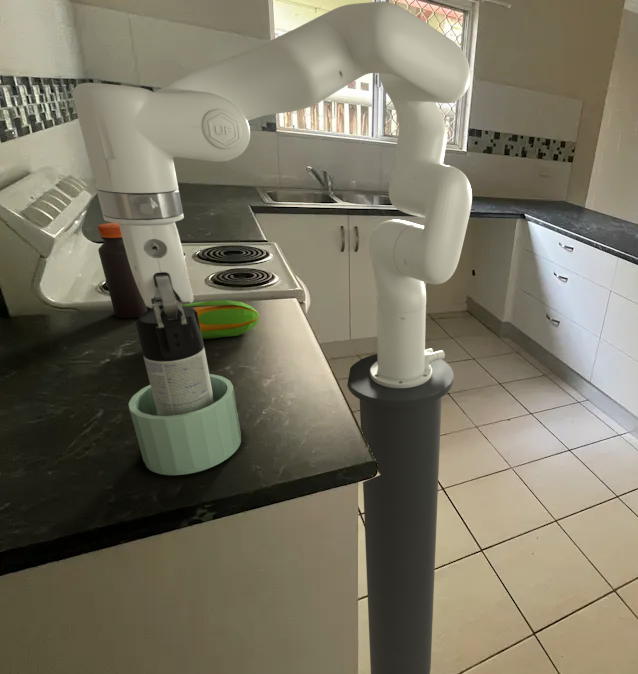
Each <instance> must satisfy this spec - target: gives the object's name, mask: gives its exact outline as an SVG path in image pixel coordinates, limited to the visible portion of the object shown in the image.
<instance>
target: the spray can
mask: <svg viewBox="0 0 638 674" xmlns="http://www.w3.org/2000/svg"><path fill="white" fill-rule="evenodd" d="M182 308H183V311H184V315H185V318H186V322H188V325H189V330H190V334H191V339H192V344H193V349H194V351H193V353H191V354H186V355H181V356H176V357H170V358H164V357H163V356H162V353H161V349H160V344H159V340H158V336H157V331H156V327H158V324H157V320H156V316H155V312H154V309H150V310H148V311H147V312H145V313H142V314H141V315H140V317H138V318H136V321H135V325H136V328H137V329H136V330H137V333H138V339H139V342H140V343H139V344H140V347H141V350H142V355H143V361H144V365H145V368H146V373H147V377H148V382H149V385H151V389H152V393H153V397H154V402H155V405H156V410H157V414H158V416H172V415H181V414H186V413H190V412H194V411H198V410H200V409H203V408H205V407H208V406H210V405H212V404H213V403H214V398H213V392H212V387H211V381H210V376H209V374H210V369H209V365H208V360H207V355H206V349H205V345H204V344H205V343H204V339H202V334H201V330H200V325H199V319H198V315H197V311H196V310H195V309H193V308H194V307H191V306H188V307H185V306H182ZM163 310H164V309H160V312H162V311H163ZM162 320H163V319H162Z"/></svg>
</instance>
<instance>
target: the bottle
mask: <svg viewBox="0 0 638 674" xmlns="http://www.w3.org/2000/svg"><path fill="white" fill-rule="evenodd" d="M97 229H98V232H99V235H100V238H101V240H103V243H102V244H101V245H100V247H98V250H97V251H98V255H99V258H100V263H101V267H102V271H103V274H104V277H105V282H106V286H107V289H108V293H109V298H110V300H111V305H112V308H113V312H114V316H115V317H117V318H120V319H138V318H139V317H140V315H141V314H142V313H145V312H147V311H148V310H147V306H146V305H145V303H144V301H143V298H142V296H141V294H140V292H139V289H138V287H137V285H136V282H135V279H134V277H133V274H132V271H131V268H130V264H129V261H128V257H127V254H126V250H125V246H124V242H123V238H122V234H121V230H120V226H119V224H117V223H111V222H106V223H101V224H97Z"/></svg>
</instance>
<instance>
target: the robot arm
mask: <svg viewBox="0 0 638 674" xmlns="http://www.w3.org/2000/svg"><path fill="white" fill-rule="evenodd" d="M369 74H378V76H379V77H378V78H379V81H380V83H381V85H382V87H383V89H384V90H385V92H386V94H387V96H388V98H389V99H390V101H391V103H392V106H393V108H394V110H395V113H396V116H397V121H398V135H397V141H396V147H395V152H394V158H393V163H392V168H391V173H390V177H389V178H390V179H389V185H388V198H389V201H390V203H391V205H392V207H394V209H396V210H397V211H400V212H402V213H405V214H408V215H411V216H414V217H419V218H423V219H424V224H423V225H422V224H418V223H414V222H411V221H407V220H402V219H388V220H385V221H382V222H380V223H379V224H378V225H377V226H376V227H375V228H374V229H373V231H372V233H371V234H370V239H369V256H370V260H371V264H372V269H373V274H374V281H375V297H376V298H375V303H376V304H375V306H376V307H375V309H376V311H375V312H376V354H377V358H378V361H377V362H376V363H374V364H373V365H372V366H371V368H370V377H371V379H372V380H373V381H374V382H376V383H377V384H379V385H382V386H385V387H389V388H411V387H415V386H419V385H421V384H423V383H425V382H427V381H428V380H429V379H430V378H431V375H432V368H431V366H430V364H431V363H432V362H433V361H435V360H436V361H437V360H440V359H442V360H444V359H445V358H446V354H445V351H444V350H443V349H441V350H437V351H434V349H433V348H426V326H427V325H426V324H427V323H426V321H427V320H426V318H427V317H426V316H427V291H426V290H427V289H426V285H425V283H426V284H429V285H440V284H444V283H446V282H447V281H449V280H450V279H451V277H452V276H453V275H454V274H455V272H456V270H457V268H458V264H459V261H460V258H461V254H462V250H463V245H464V241H465V238H466V232H467V228H468V224H469V219H470V215H471V209H472V203H473V193H472V187H471V183H470V181H469V180H470V179H468V177H467V176H466V174H465V173H464V172H463V171H462V170H460V169H459V168H457V167H455V166H452V165H446V164H444V159H445V154H446V148H447V142H448V133H447V132H448V131H447V125H446V122H445V119H444V117H443V114H442V112H441V110H440V107H439V105H438V104H452V103H454V102H457V101H459V100H460V99H461V98H463V96H465V94H466V93H467V91H468V89H469V86H470V83H471V70H470V64H469V61H468V58H467V55H466V54H465V52H464V51H463V49H462V48H461V47H460V45H458V44H457V43H456V42H455V41H454V40H453V39H452V38H449V37H448V36H446V35H445V34H443V33H442V32H440V31H439V30H438V29H436V28H434V27H433V26H431V25H430V24H428V23H427V22H426V21H424V20H423V19H421V18H419V16H416V14H414V13H412V12H410V10H407V9H405V8H404V7H401V6H400V5H397V4H395V3H393V2H389V1H383V0H381V1H369V2H359V3H358V2H357V3H349V4H344V5H340V6H338V7H336V8H333V9H331V10H329V11H327V12H325V13H323V14H321V15H319V16H317V17H315V18H313V19H312V20H309V21H308V22H305V23H304V24H302V25H300V26H298V27H296V28H294V29H292V30H289V31H287V32H285V33H283V34H281V35H279V36H277V37H275V38H272V39H271V40H268V41H266V42H262V43H260V44H257V45H255V46H253V47H250V48H247V49H246V50H244V51H242V52H239V53H237V54H235V55H234V54H233V55H232V56H229V57H226V58H223V59H221V60H218V61H216V62H213V63H211V64H209V65H207V66H204V67H202V68H199V69H197V70H195V71H193V72H191V73H189V74H187V75H184V76H183V77H180V78H178V79H176V80H174V81H172V82H170V83H168V84H167V85H164V86H163V87H161V88H158V89H157V90H156V91H152V90H150V89H148V88H145V87H144V88H143V87H138V86H130V85H121V84H112V83H111V84H110V83H101V82H83V83H79V84H77V85H76V86H75V87H74V89H73V93H72V98H73V102H74V107H75V112H76V115H77V119H78V123H79V126H80V127H79V128H80V130H81V135H82V139H83V142H84V147H85V151H86V154H87V158H88V162H89V165H90V170H91V174H92V178H93V182H94V186H95V189H96V194H97V198H98V201H99V205H100V210H101V213H102V217H103V220H104V221H105V222H107V223H117V224H119V226H120V230H121V234H122V238H123V242H124V246H125V250H126V254H127V257H128V261H129V264H130V268H131V271H132V274H133V277H134V279H135V282H136V285H137V287H138V289H139V292H140V294H141V296H142V298H143V301H144V303H145V305H146V306H147V310H150V309H154V312H155V316H156V320H157V324H158V327H156V331H157V336H158V340H159V344H160V349H161V353H162V356H163V357H164V358H170V357H176V356H181V355H186V354H191V353H193V351H194V349H193V344H192V339H191V334H190V330H189V325H188V322H186V318H185V315H184V311H183V308H182V305H183V304H182V303H187V304H190V303H194V301H195V298H194V294H193V290H192V286H191V285H192V284H191V281H190V276H189V272H188V268H187V262H186V259H185V255H184V250H183V245H182V242H181V238H180V234H179V229H178V227H177V224H176V222H179V221H182V220H183V219H184V218H185V215H184V211H183V210H184V209H183V204H182V200H181V195H180V189H179V184H178V178H177V173H176V167H175V162H174V158H182V159H191V160H199V161H204V162H212V163H213V162H215V163H219V162H220V163H221V162H228V161H231V160H234V159H236V158H238V157H239V156H241V155H242V154H243V153H244V152H245V151H246V150H247V148H248V146H249V144H250V140H251V128H250V125H249V124H250V123H249V121H251V120H255V119H257V118H261V117H264V116H270V115H276V114H284V113H293V112H298V111H301V110H304V109H308V108H311V107H314V106H316V105H318V104H319V103H321V102H323V101H324V100H325V99H327V98H329V97H330V96H333V95H334V94H335V93H337V92H338V91H340V90H342V89H343V88H345V87H346V86H348V85H350V84H352V83H354V82H356V81H357V80H358V79H360V78H362V77H363V76H366V75H369ZM160 309H164V310H163V311H162V312H160ZM162 319H163V320H162Z"/></svg>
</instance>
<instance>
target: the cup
mask: <svg viewBox="0 0 638 674" xmlns="http://www.w3.org/2000/svg"><path fill="white" fill-rule="evenodd" d="M209 376H210V381H211V387H212V392H213V398H214V403H213V404H212V405H210V406H208V407H205V408H203V409H200V410H198V411H194V412H190V413H186V414H181V415H172V416H158V414H157V410H156V405H155V402H154V397H153V393H152V389H151V385H150V384H149V385H147V386H144V387H142V388H141V389H140V390H138V391H136V393H134V394H133V395H132V396H131V398H130V400H129V402H128V404H127V405H128V409H129V413H130V418H131V420H132V424H133V427H134V432H135V435H136V439H137V442H138V443H137V444H138V447H139V451H140V453H141V457H142V462H143V463H144V466H145V467H146V468H147V469H148V470H149V471H150V472H152V473H154V474H155V473H156V474H158V475H162V476H183V475H185V476H186V475H190V474H195V473H200V472H203V471H206V470H208V469H211V468H214V467H215V466H217V465H220V464H221V463H223V462H224V461H226V460H228V459H229V458H231V457H232V456H233V455H234V454H235V453H236V452H237V451H238V449H239V448H240V446H241V442H242V432H241V426H240V425H241V424H240V419H239V414H238V407H237V402H236V395H235V389H234V385H233V384H232V382H231V380H229V379H228V378H226V377H224V376H222V375H218V374H214V373H209Z"/></svg>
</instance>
